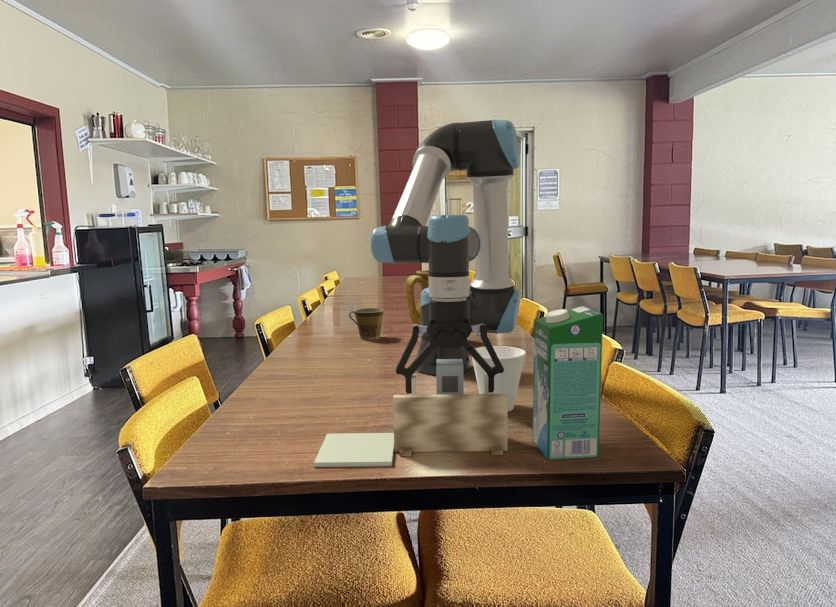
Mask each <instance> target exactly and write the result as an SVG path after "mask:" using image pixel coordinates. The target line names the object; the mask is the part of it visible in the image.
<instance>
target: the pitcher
mask: <svg viewBox="0 0 836 607" xmlns="http://www.w3.org/2000/svg"><path fill="white" fill-rule="evenodd" d="M415 274H416V275H415ZM415 274H414V275H410V276H408V277H407V278H406V282H405V291H406V299H407V300H406V301H407V307H408V308H409V317H410V318H411V321H412V322H411V323H412V326H413V325H414V324H418V325H421V307H420V304H421V292H422V291H423V290H424V289H425V288H428V287H429V269H425V270H417V271H415ZM417 283H418V284H419V285H420V286H419V287H420V290H419V291H420V292H419V298H418V302H417V305H416V301H415V300H416V299H415V294H414V293H415V285H416V284H417Z"/></svg>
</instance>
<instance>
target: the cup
mask: <svg viewBox="0 0 836 607" xmlns="http://www.w3.org/2000/svg"><path fill="white" fill-rule="evenodd" d="M492 347H493V348H494V350H495V352H496V354H497V356H498V358H499V360H500V362H501V364H502V366H503V368H504V372H503V373H498V374H496V375H495V376H494V391H493V393H488V394H503V393H506V394H507V396H508V412H511V411H513V410H514V408H515V404H516V398H517V394H518V390H519V385H520V380H521V375H522V371H523V368H524V367H523V366H524V363H525V357H526V354H527V352H526V350H524V349H522V348H519V347H514V346H506V345H492ZM474 348H475V349H476V350H477V352H478V353H479V354H480V355H481V356H482V357H483V358H484V360H485V361H486V362H487V363H488V364H489V365H490V366H491V367H493V366H495V365H494V363H493V361H492V359H491V357H490V355H489V353H488V351H487V349H486V347H485V346H479V347H474ZM471 360H472V365H473V369H474V373H475V374H474V375H475V378H476V383H477V389H478V394H483V374H487V373H486V372H485V371H484V370H483V368H482V367H481V366H480V365H479V364H478V363H477V362H476V360H475V359H474V358H473V357H472V356H471Z"/></svg>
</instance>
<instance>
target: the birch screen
mask: <svg viewBox="0 0 836 607" xmlns="http://www.w3.org/2000/svg"><path fill="white" fill-rule="evenodd" d="M392 401H393V402H392V409H393V416H392V417H393V433H394V453H399V457H411V456H412V453H420V452H421V453H423V452H424V453H425V452H427V453H428V452H429V453H430V452H431V453H432V452H433V453H434V452H439V453H440V452H490V454H491V455H492V456H504V452H508V423H509V422H508V414H509V411H508V396H507V394H506V393H503V394H479V393H464V394H437V393H436V394H433V393H432V394H416V395H412V394H393V397H392Z"/></svg>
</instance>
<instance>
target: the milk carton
mask: <svg viewBox="0 0 836 607" xmlns="http://www.w3.org/2000/svg"><path fill="white" fill-rule="evenodd" d="M603 323H604V313H601V312H600V311H596V310H595V309H591V308H589V307H588V306H587V307H586V306H584V305H580V306H577V307H572V308H569V309H564V308H561V309H556V310H551V311H548V312H546V313H545V315H544V316H542V317H538V318H535V319H533V376H532V377H533V382H532V383H533V384H532V387H533V388H532V392H533V393H532V396H533V397H532V441H533V442H534V444H536V446H537V448H538V449H539V450H540V451H541V453H542V454H543V455H544V457H545V458H546V459H547V460H565V459H583V458H585V459H586V458H598V457H599V454H600V426H601V425H600V424H601V423H600V422H601V391H602V390H601V389H602V386H601V385H602V361H603V360H602V357H603V356H602V355H603V330H604V329H603V325H604V324H603Z"/></svg>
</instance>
